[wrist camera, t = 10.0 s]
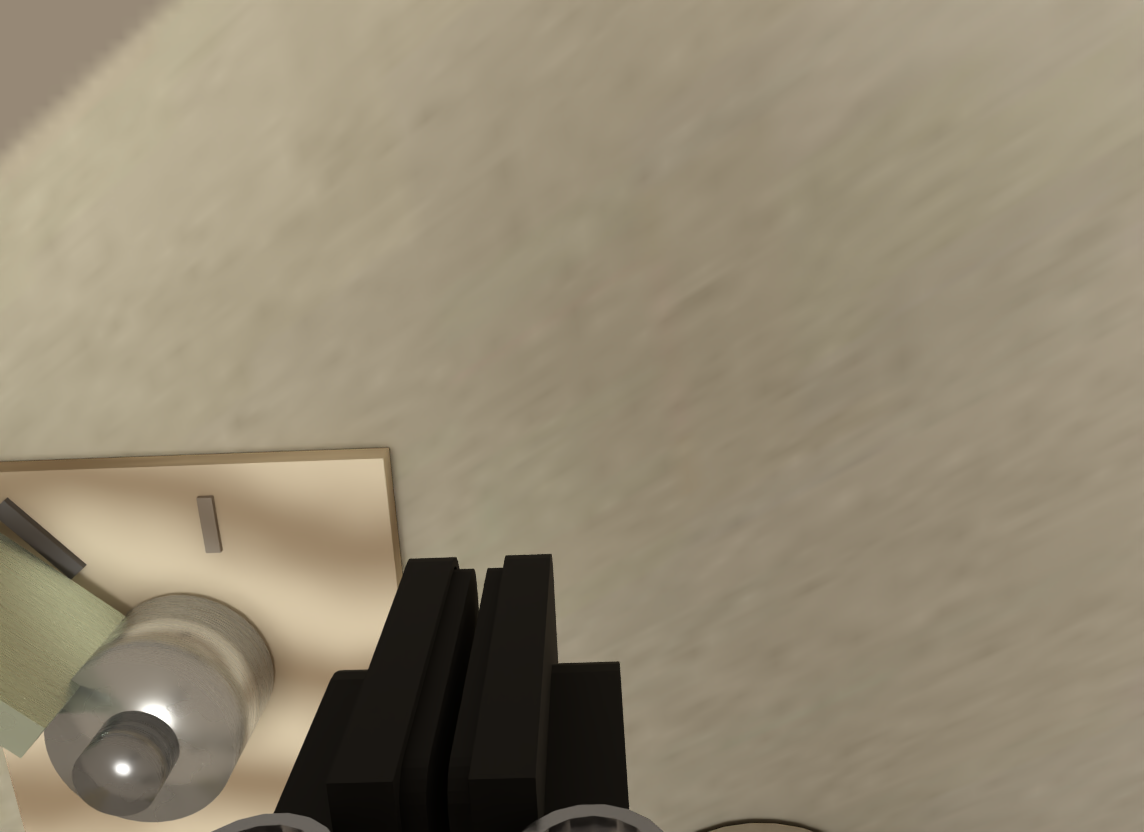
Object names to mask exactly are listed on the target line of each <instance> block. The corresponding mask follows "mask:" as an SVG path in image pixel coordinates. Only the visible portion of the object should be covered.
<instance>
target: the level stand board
mask: <svg viewBox="0 0 1144 832" xmlns="http://www.w3.org/2000/svg"><path fill="white" fill-rule="evenodd" d="M0 533H2V534H3V535H5V536H6V537H8V538H9V539H11V540H12V541H14V542H15V543H17V544H18V545H20V546H21V547H23V548H24V549H26V550H27V551H29V552H30V553H32V554H33V555H35V556H36V557H38V558H39V559H41V560H42V561H44V562H45V563H47V564H48V565H50V566H51V567H53V568H54V569H56V570H57V571H59V572H60V573H62V574H63V575H65V576H66V577H68V578H69V579H71V580H72V581H74V582H75V583H77V584H78V585H80V586H81V587H83V588H84V589H86V590H87V591H89V592H90V593H92V594H93V595H95V596H96V597H98V598H99V599H101V600H102V601H104V602H105V603H107V604H108V605H109V606H111V607H112V608H114V609H115V610H117V611H118V612H120V613H121V614H123V615H125V614H127V613H128V612H129V611H130V610H131V609H133V608H134V607H136V606H138V605H140V604H141V603H144V602H146V601H149V600H151V599H155V598H158V597H163V596H170V595H187V596H196V597H200V598H205V599H208V600H211V601H214V602H217V603H219V604H221V605H223V606H226V607H228V608H229V609H231V610H232V611H234V612H236V613H237V614H239V615H240V616H241V617H242V618H244V619H245V620H246V621H247V622H248V623H249V624H250V625H251V626H252V627H253V628H254V629H255V630H256V631H257V633H258V634H259V635H260V637H261V638H262V640H263V641H264V643H265V645H266V647H267V649H268V651H269V654H270V657H271V660H272V664H273V671H274V683H273V689H272V693H271V696H270V699H269V701H268V703H267V705H266V707H265V709H264V711H263V713H262V715H261V717H260V719H259V721H258V723H257V725H256V727H255V729H254V731H253V733H252V735H251V737H250V739H249V741H248V742H247V744H246V746H245V748H244V750H243V752H242V754H241V756H240V758H239V760H238V762H237V764H236V766H235V768H234V770H233V772H232V774H231V776H230V778H229V780H228V782H227V783H226V785H225V787H224V789H223V790H222V791H221V793H220V794H219V795H218V796H217V797H216V798H215V799H214V800H213V801H212V802H211V803H210V804H209V805H207V806H206V807H205V808H203V809H202V810H200V811H198V812H196V813H194V814H192V815H189V816H187V817H184V818H181V819H177V820H172V821H165V822H140V821H133V820H128V819H123V818H120V817H117V816H113V815H108V814H105V813H102V812H100V811H97V810H96V809H94V808H92V807H91V806H89V805H88V804H87V803H85V802H84V801H83V800H82V798H80V797H79V796H78V795H77V794H76V793H74V792H73V791H72V790H71V789H70V788H69V787H68V786H67V785H66V784H65V783H64V781H63V780H62V779H61V777H60V776H59V775H58V773H57V772H56V770H55V768H54V766H53V765H52V763H51V761H50V758H49V755H48V753H47V749H46V745H45V739H44V732H43V733H42V734H41V735H40V736H39V738H38V739H37V740H36V741H35V742H34V744H33V745H32V746H31V747H30V748H29V750H28V751H27V752H26V753H25V754H24V755H23V757H22V758H19V757H18V756H16V755H15V754H13V753H11V752H10V751H8V750H6V749H5V748H3V751H4V755H5V758H6V762H7V766H8V770H9V773H10V777H11V781H12V785H13V788H14V792H15V796H16V799H17V803H18V807H19V811H20V814H21V818H22V822H23V826H24V829H25V832H212V831H214V830H216V829H219V828H221V827H223V826H225V825H228V824H230V823H232V822H234V821H237V820H240V819H244V818H248V817H252V816H257V815H261V814H272V813H274V811H275V808H276V806H277V804H278V801H279V799H280V797H281V794H282V792H283V790H284V787H285V785H286V783H287V780H288V778H289V776H290V773H291V771H292V768H293V766H294V764H295V761H296V759H297V757H298V754H299V752H300V750H301V747H302V745H303V743H304V740H305V738H306V736H307V733H308V731H309V728H310V726H311V724H312V721H313V719H314V717H315V714H316V712H317V710H318V707H319V705H320V703H321V700H322V698H323V696H324V693H325V691H326V689H327V686H328V684H329V681H330V679H331V678H332V676H333V674H334V673H335V672H337V671H339V670H364V669H368V668H369V665H370V662H371V660H372V657H373V654H374V652H375V649H376V646H377V643H378V641H379V638H380V635H381V633H382V630H383V627H384V624H385V622H386V619H387V616H388V614H389V611H390V608H391V605H392V603H393V600H394V597H395V595H396V592H397V589H398V586H399V584H400V581H401V578H402V576H403V574H402V565H401V555H400V546H399V537H398V528H397V518H396V509H395V500H394V490H393V481H392V472H391V463H390V453H389V448H367V449H340V450H312V451H285V452H258V453H230V454H203V455H175V456H148V457H120V458H93V459H65V460H38V461H10V462H0Z"/></svg>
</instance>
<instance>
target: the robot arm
mask: <svg viewBox="0 0 1144 832" xmlns="http://www.w3.org/2000/svg"><path fill="white" fill-rule="evenodd" d="M212 832H663V831H662V830H661V829H660V828H659V827H658V826H657V825H655V824H654V823H653V822H652V821H651V820H650V819H648V818H646V817H644V816H642V815H639V814H637V813H635V812H633V811H631V810H629V800H628V785H627V769H626V753H625V738H624V722H623V707H622V691H621V676H620V663H619V662H589V663H558V651H557V632H556V614H555V595H554V577H553V562H552V554H537V555H508V556H505V560H504V566H503V568H488V569H487V573H486V578H485V583H484V588H483V593H482V598H481V603H480V609H479V605H478V593H477V581H476V574H475V570H474V569H459V564H458V560H457V558H456V557H449V558H419V559H409V560H408V562H407V565H406V567H405V570H404V573H403V576H402V578H401V581H400V584H399V586H398V589H397V592H396V595H395V597H394V600H393V603H392V605H391V608H390V611H389V614H388V616H387V619H386V622H385V624H384V627H383V630H382V633H381V635H380V638H379V641H378V643H377V646H376V649H375V652H374V654H373V657H372V660H371V662H370V665H369V668H368V669H364V670H339V671H337V672H335V673H334V674H333V676H332V678H331V679H330V681H329V684H328V686H327V689H326V691H325V693H324V696H323V698H322V700H321V703H320V705H319V707H318V710H317V712H316V714H315V717H314V719H313V721H312V724H311V726H310V728H309V731H308V733H307V736H306V738H305V740H304V743H303V745H302V747H301V750H300V752H299V754H298V757H297V759H296V761H295V764H294V766H293V768H292V771H291V773H290V776H289V778H288V780H287V783H286V785H285V787H284V790H283V792H282V794H281V797H280V799H279V801H278V804H277V806H276V808H275V811H274V813H272V814H261V815H257V816H252V817H248V818H244V819H240V820H237V821H234V822H232V823H230V824H228V825H225V826H223V827H221V828H219V829H216V830H214V831H212ZM709 832H812V831H810V830H807V829H804V828H800V827H794V826H788V825H783V824H777V823H747V824H740V825H733V826H727V827H722V828H719V829H715V830H712V831H709Z"/></svg>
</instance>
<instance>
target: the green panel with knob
mask: <svg viewBox="0 0 1144 832" xmlns="http://www.w3.org/2000/svg"><path fill="white" fill-rule="evenodd" d="M273 683H274V671H273V664H272V660H271V657H270V654H269V651H268V649H267V647H266V645H265V643H264V641H263V640H262V638H261V637H260V635H259V634H258V633H257V631H256V630H255V629H254V628H253V627H252V626H251V625H250V624H249V623H248V622H247V621H246V620H245V619H244V618H242V617H241V616H240V615H239V614H237V613H236V612H234V611H232V610H231V609H229V608H228V607H226V606H223V605H221V604H219V603H217V602H214V601H211V600H208V599H205V598H200V597H196V596H187V595H170V596H163V597H158V598H155V599H151V600H149V601H146V602H144V603H141V604H140V605H138V606H136V607H134V608H133V609H131V610H130V611H129V612H128V613H127V614H125V615H123V614H121V613H120V612H118V611H117V610H115V609H114V608H112V607H111V606H109V605H108V604H107V603H105V602H104V601H102V600H101V599H99V598H98V597H96V596H95V595H93V594H92V593H90V592H89V591H87V590H86V589H84V588H83V587H81V586H80V585H78V584H77V583H75V582H74V581H72V580H71V579H69V578H68V577H66V576H65V575H63V574H62V573H60V572H59V571H57V570H56V569H54V568H53V567H51V566H50V565H48V564H47V563H45V562H44V561H42V560H41V559H39V558H38V557H36V556H35V555H33V554H32V553H30V552H29V551H27V550H26V549H24V548H23V547H21V546H20V545H18V544H17V543H15V542H14V541H12V540H11V539H9V538H8V537H6V536H5V535H3V534H2V533H0V746H2V747H3V748H5V749H6V750H8V751H10V752H11V753H13V754H15V755H16V756H18V757H19V758H22V757H23V755H24V754H25V753H26V752H27V751H28V750H29V748H30V747H31V746H32V745H33V744H34V742H35V741H36V740H37V739H38V738H39V736H40V735H41V734H42V733H43V732H44V739H45V745H46V749H47V753H48V755H49V758H50V761H51V763H52V765H53V766H54V768H55V770H56V772H57V773H58V775H59V776H60V777H61V779H62V780H63V781H64V783H65V784H66V785H67V786H68V787H69V788H70V789H71V790H72V791H73V792H74V793H76V794H77V795H78V796H79V797H80V798H82V800H83V801H84V802H85V803H87V804H88V805H89V806H91V807H92V808H94V809H96V810H97V811H100V812H102V813H105V814H108V815H113V816H117V817H120V818H123V819H128V820H133V821H140V822H165V821H172V820H177V819H181V818H184V817H187V816H189V815H192V814H194V813H196V812H198V811H200V810H202V809H203V808H205V807H206V806H207V805H209V804H210V803H211V802H212V801H213V800H214V799H215V798H216V797H217V796H218V795H219V794H220V793H221V791H222V790H223V789H224V787H225V785H226V783H227V782H228V780H229V778H230V776H231V774H232V772H233V770H234V768H235V766H236V764H237V762H238V760H239V758H240V756H241V754H242V752H243V750H244V748H245V746H246V744H247V742H248V741H249V739H250V737H251V735H252V733H253V731H254V729H255V727H256V725H257V723H258V721H259V719H260V717H261V715H262V713H263V711H264V709H265V707H266V705H267V703H268V701H269V699H270V696H271V693H272V689H273Z"/></svg>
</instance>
